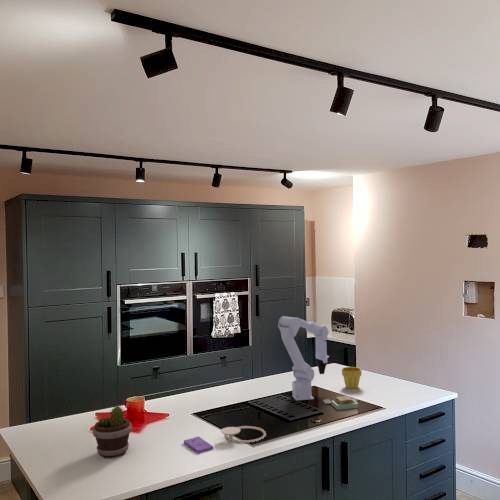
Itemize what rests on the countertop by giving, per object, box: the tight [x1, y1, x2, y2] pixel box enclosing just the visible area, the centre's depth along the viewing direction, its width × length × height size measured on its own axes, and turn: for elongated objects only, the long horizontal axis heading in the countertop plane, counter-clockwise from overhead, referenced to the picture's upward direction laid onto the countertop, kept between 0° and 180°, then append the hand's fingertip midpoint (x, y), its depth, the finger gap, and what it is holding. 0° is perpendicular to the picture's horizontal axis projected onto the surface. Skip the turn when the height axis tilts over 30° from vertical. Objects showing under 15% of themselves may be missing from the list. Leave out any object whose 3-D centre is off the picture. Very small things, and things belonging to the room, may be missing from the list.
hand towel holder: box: [220, 425, 267, 444], centre depth 212 cm, size 17×4×21 cm
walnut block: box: [335, 395, 353, 405], centre depth 247 cm, size 6×6×4 cm
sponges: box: [183, 436, 214, 454], centre depth 203 cm, size 7×13×2 cm, turn 33°
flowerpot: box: [92, 403, 133, 459], centre depth 198 cm, size 14×15×20 cm
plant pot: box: [341, 366, 362, 390], centre depth 278 cm, size 10×10×10 cm
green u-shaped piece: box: [321, 396, 359, 411], centre depth 250 cm, size 16×14×2 cm
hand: (321, 373), depth 271 cm, fingers closed
